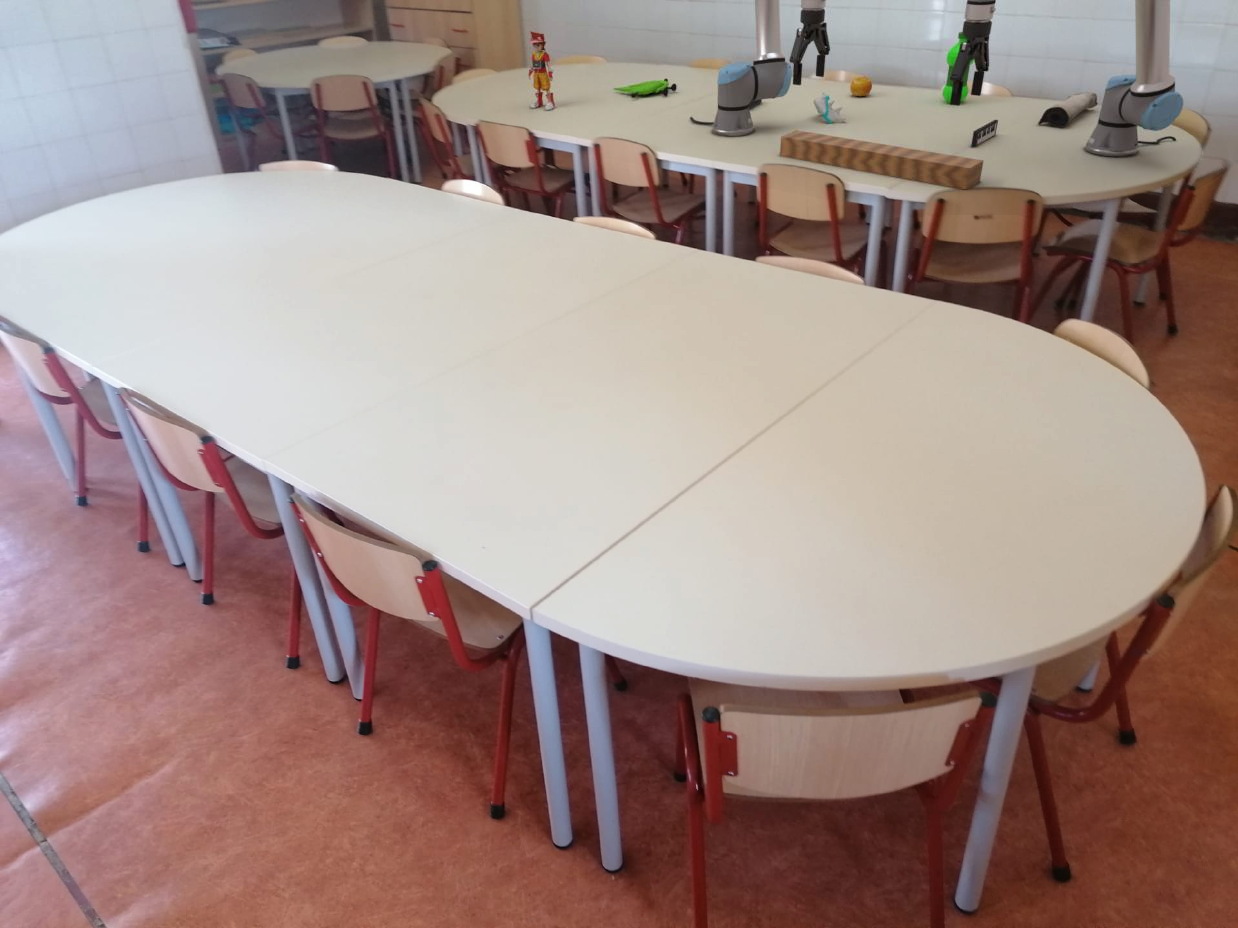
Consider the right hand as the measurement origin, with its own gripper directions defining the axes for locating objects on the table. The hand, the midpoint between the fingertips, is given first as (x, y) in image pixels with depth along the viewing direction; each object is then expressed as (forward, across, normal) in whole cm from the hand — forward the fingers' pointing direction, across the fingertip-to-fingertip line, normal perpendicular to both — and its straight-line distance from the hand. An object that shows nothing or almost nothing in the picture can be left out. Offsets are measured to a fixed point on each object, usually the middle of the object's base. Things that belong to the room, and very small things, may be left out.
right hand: (965, 100), depth 263 cm
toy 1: (+24, 0, +185) cm, 186 cm away
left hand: (0, 0, +54) cm, 54 cm away
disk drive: (+24, +45, +112) cm, 123 cm away
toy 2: (+24, +43, +166) cm, 173 cm away
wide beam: (+24, 0, +27) cm, 36 cm away
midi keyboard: (+24, +47, +11) cm, 54 cm away
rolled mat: (+24, +90, -1) cm, 93 cm away
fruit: (+24, +83, +80) cm, 118 cm away
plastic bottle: (+24, +92, +43) cm, 104 cm away
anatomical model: (+24, +45, +72) cm, 88 cm away
